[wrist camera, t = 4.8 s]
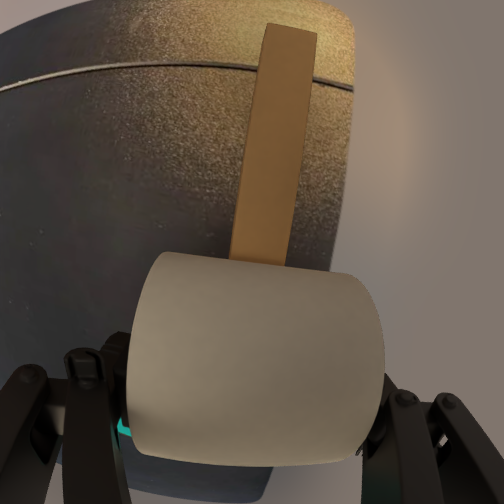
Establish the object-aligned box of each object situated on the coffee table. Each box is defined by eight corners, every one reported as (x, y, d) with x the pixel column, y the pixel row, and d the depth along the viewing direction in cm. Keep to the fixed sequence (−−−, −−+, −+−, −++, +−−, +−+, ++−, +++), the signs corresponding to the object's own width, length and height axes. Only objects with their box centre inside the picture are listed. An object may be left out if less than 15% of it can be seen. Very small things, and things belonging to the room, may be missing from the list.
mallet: (213, 38, 11) (202, -77, 3) (349, 65, 11) (441, -10, 4) (172, 372, 15) (144, 488, 7) (292, 383, 15) (326, 494, 8)
